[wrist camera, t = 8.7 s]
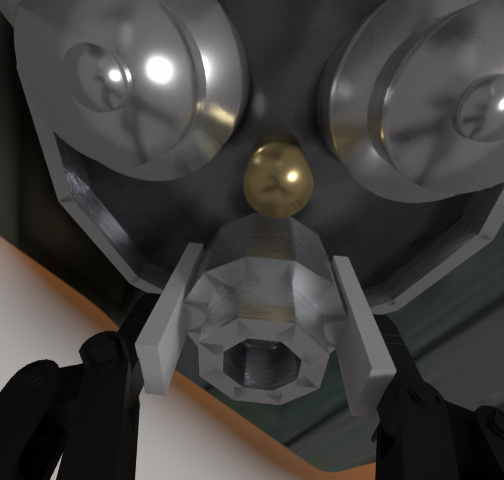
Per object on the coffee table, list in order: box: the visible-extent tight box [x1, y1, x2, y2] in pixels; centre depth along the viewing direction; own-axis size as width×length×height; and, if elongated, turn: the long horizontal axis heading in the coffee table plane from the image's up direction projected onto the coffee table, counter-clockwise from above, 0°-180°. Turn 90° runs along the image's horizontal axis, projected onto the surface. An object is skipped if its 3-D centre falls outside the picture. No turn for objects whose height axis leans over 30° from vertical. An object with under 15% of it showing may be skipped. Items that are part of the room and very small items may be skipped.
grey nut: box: [183, 213, 348, 405], centre depth 13 cm, size 7×7×6 cm
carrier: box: [14, 0, 504, 348], centre depth 12 cm, size 22×22×8 cm
